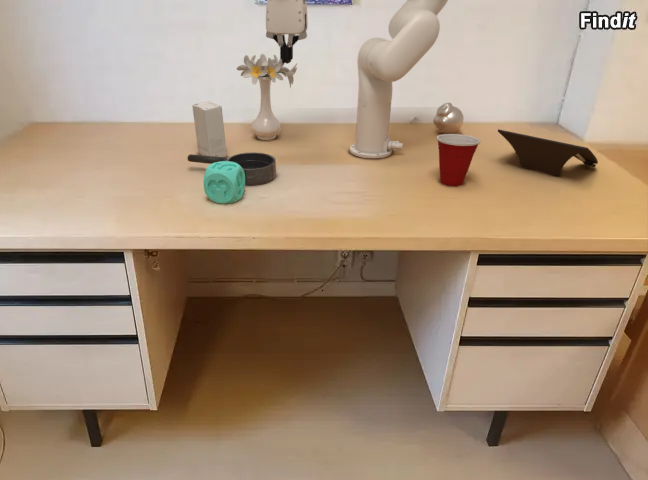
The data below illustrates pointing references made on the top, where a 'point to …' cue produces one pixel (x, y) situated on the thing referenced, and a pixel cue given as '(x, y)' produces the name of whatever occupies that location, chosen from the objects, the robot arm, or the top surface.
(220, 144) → the cosmetic box
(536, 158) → the laptop tray
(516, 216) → the top surface
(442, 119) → the silver rounded lump
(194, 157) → the pan handle
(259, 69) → the flower vase
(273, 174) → the pan
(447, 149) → the plastic cup
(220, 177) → the decorative dice
